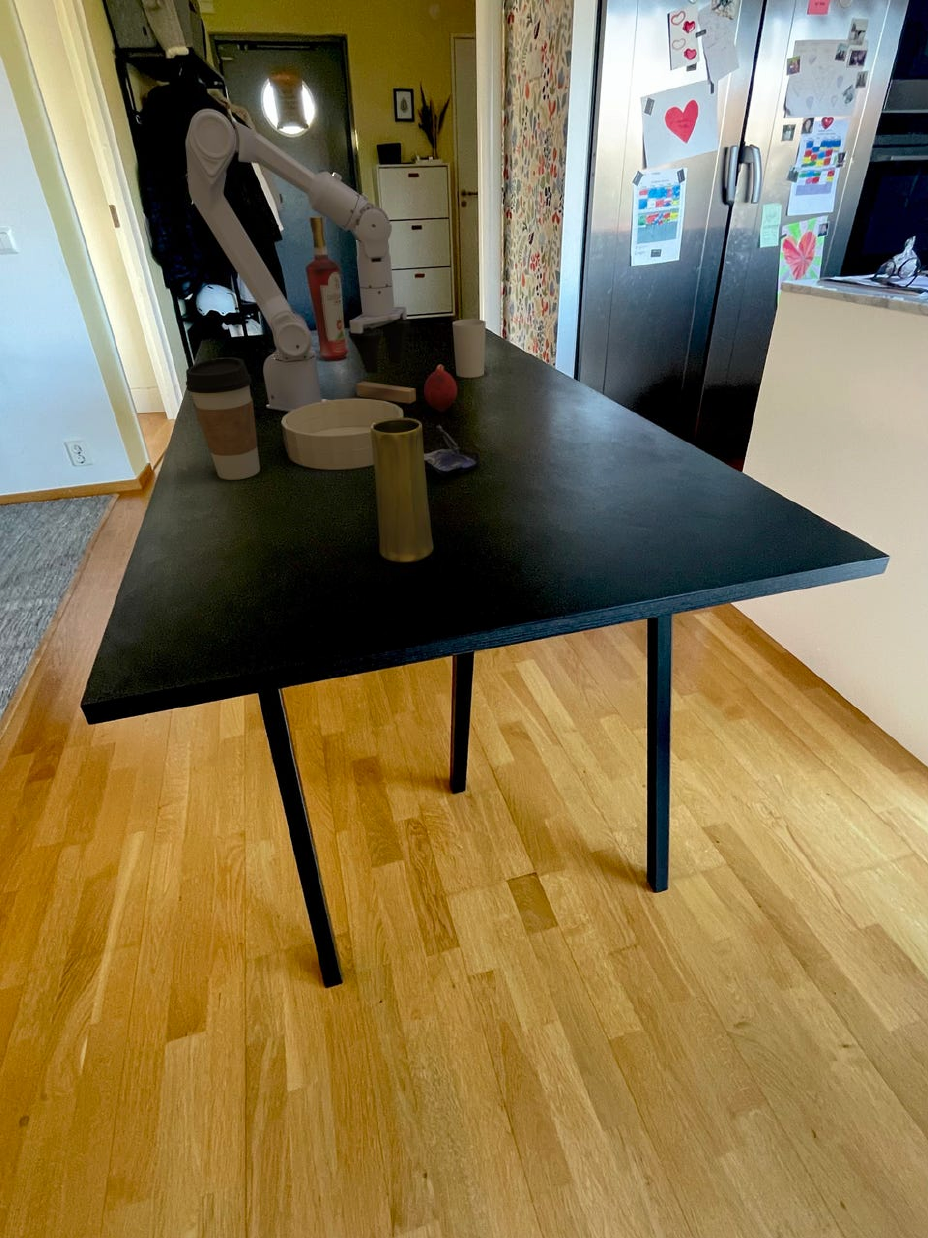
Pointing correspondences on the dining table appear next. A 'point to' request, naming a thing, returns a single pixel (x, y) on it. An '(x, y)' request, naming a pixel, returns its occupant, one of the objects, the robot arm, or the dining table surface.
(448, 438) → the dark piece
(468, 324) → the white paper cup
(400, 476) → the vase
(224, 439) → the coffee cup
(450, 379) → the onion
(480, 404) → the dining table surface
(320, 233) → the liquor
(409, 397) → the tan wooden bar
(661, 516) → the dining table surface
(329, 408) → the bowl
